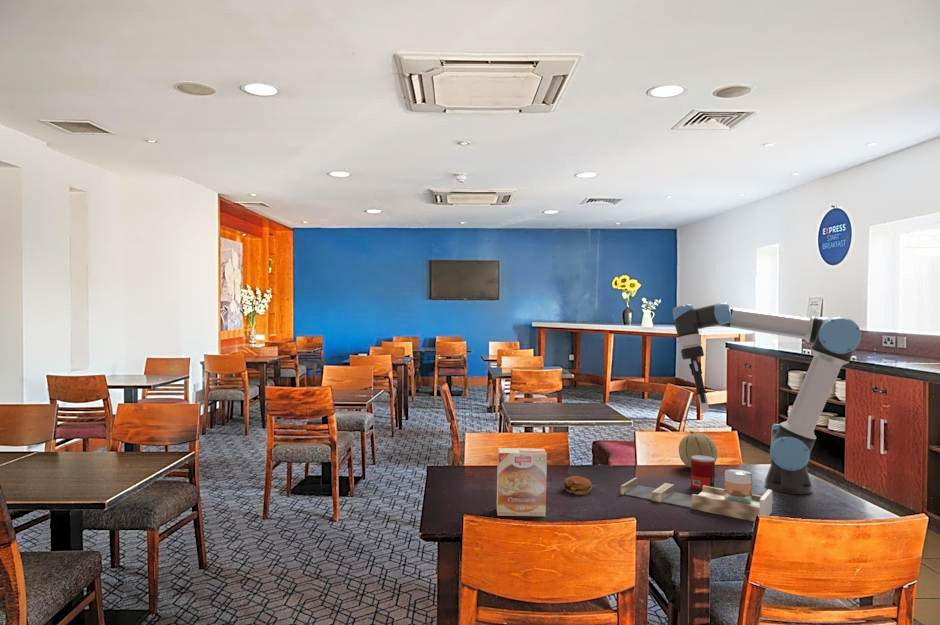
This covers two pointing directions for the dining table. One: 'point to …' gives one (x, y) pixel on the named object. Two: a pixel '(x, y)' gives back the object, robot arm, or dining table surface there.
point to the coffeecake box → (521, 482)
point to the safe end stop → (764, 503)
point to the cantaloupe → (696, 447)
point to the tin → (738, 486)
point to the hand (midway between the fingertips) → (705, 412)
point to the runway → (693, 499)
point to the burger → (577, 485)
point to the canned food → (702, 472)
